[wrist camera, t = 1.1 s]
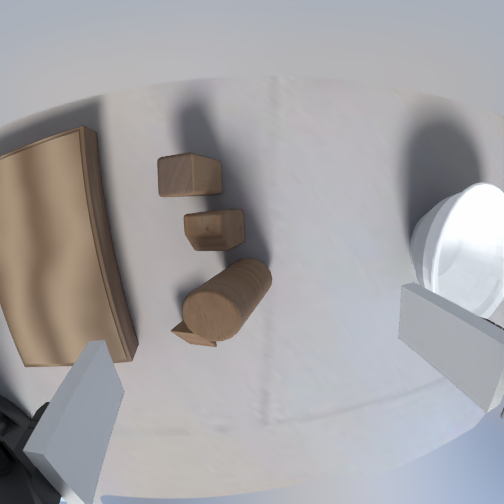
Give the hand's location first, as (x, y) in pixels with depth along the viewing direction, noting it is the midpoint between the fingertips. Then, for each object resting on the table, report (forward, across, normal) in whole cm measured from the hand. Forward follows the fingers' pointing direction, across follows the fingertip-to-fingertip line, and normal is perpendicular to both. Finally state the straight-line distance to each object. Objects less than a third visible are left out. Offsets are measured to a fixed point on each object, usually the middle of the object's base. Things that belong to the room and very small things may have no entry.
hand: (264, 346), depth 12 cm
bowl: (+18, +25, -3) cm, 31 cm away
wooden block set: (+18, -1, 0) cm, 18 cm away
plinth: (+18, -18, +3) cm, 26 cm away
